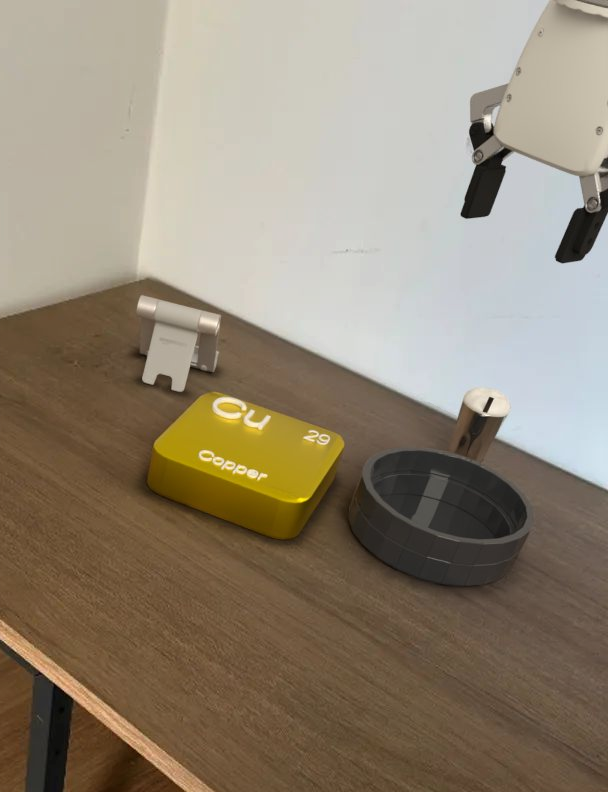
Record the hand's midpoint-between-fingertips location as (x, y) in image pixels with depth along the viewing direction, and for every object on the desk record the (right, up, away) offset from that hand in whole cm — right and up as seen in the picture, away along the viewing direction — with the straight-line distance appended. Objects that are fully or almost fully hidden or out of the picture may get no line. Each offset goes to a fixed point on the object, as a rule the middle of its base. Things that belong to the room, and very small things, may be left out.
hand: (519, 237), depth 78 cm
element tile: (-21, -18, +13) cm, 31 cm away
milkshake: (+2, -16, +20) cm, 26 cm away
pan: (-4, -23, +10) cm, 26 cm away
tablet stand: (-27, -3, +28) cm, 40 cm away
